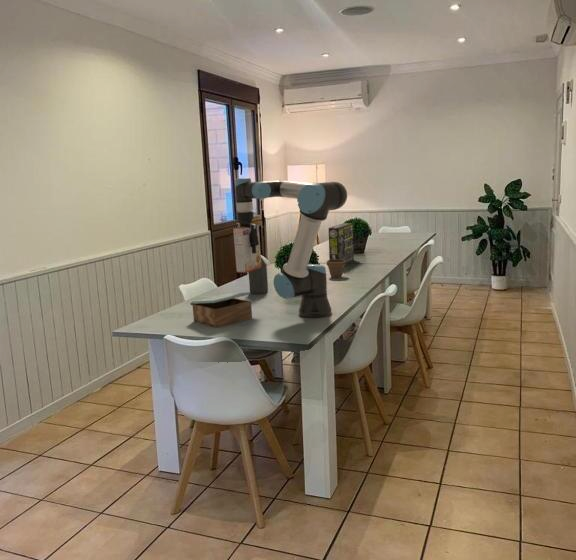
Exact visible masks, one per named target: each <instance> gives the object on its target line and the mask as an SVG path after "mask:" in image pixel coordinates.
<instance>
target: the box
mask: <svg viewBox="0 0 576 560" xmlns="http://www.w3.org/2000/svg"><path fill="white" fill-rule="evenodd" d="M328 251H329V252H328V257H329V260H335V259H340V260H345V261H346V262H345V265H344V266H346V265H348V264H350V263H352V262H353V261H354V260H355V259H354V257H355V256H354V252H355V251H354V223H352V222H350V223H349V222H348V223H347V222H346V223H345V222H343V223H341V224H337V225H334V226H331V227H328ZM352 260H353V261H352ZM349 262H350V263H349ZM347 263H348V264H347Z"/></svg>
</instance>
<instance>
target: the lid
mask: <svg viewBox="0 0 576 560" xmlns="http://www.w3.org/2000/svg"><path fill="white" fill-rule="evenodd" d="M249 295H251V293H250V291H249V292H233V293H231V292H230V293H225V294H224V293H223V294H220V295H215V296H210V297H207V298H202V299H198V300H193V301H192V302H191V303H193V304H196V303H215V302H220V301H224V300H228V299H233V298H241V297H245V296H249Z"/></svg>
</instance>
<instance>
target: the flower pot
mask: <svg viewBox="0 0 576 560" xmlns="http://www.w3.org/2000/svg"><path fill="white" fill-rule="evenodd" d="M345 262H346V261H345V260H340V259H335V260H326V265H327V266H328V268H327V269H328V270H329V275H330V277H331V278H332V277H334V278H333V279H338V278H337V277H340V278H342V277H341V276H343V274H344V273H343V272H344V268H345V266H346V265H345Z"/></svg>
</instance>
